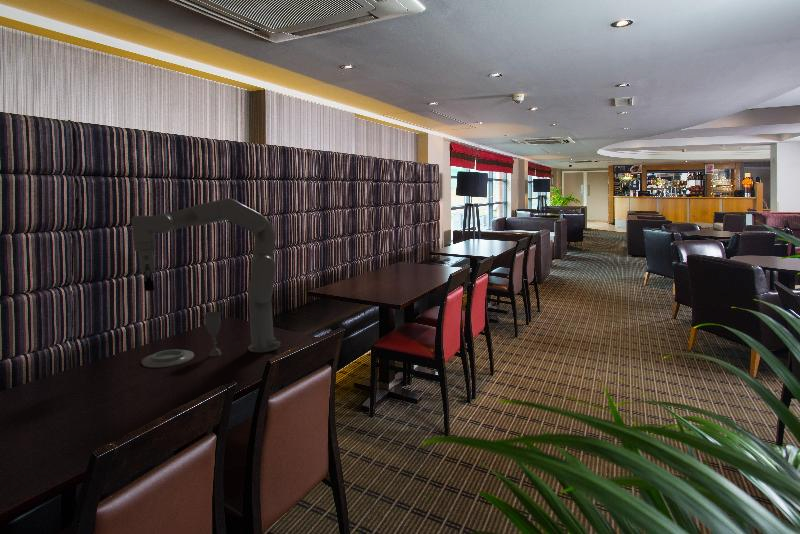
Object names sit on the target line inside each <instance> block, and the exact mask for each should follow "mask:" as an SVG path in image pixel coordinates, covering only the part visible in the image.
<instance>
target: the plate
mask: <svg viewBox="0 0 800 534" xmlns="http://www.w3.org/2000/svg"><path fill="white" fill-rule="evenodd" d="M194 357H195V353H194V352H193V351H191V350H187V349H178V348H175V349H165V350H160V351H158V352H154V353H153V354H150V355H147V356H145V357H144V358H142V359H141V365H142V366H143V367H146V368H152V369H153V368H154V369H156V368H157V369H159V368H168V367H174V366H175V367H176V366H177V365H178V366H179V365H181V364H185V363H187V362H190V361H191V360H192V359H194Z"/></svg>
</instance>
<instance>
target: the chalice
mask: <svg viewBox="0 0 800 534" xmlns="http://www.w3.org/2000/svg"><path fill="white" fill-rule="evenodd" d="M202 315H203V317H204V323H205V324H204V325H205V328H206V330H207V331H208V333H209V335H210V336H212V342H213V343H212V345H213V348H211V350H210V352H209V354H208V356H209V357H218V356H221V355H222V351H221V349H219V348H217V344H218V343H217V338H216V335H217V334H218V333H219V332H220V329H221V324H222V321H221V315H222V312H220V311H209V312H205V313H204V312H203V313H202Z"/></svg>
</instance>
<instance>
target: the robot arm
mask: <svg viewBox="0 0 800 534" xmlns="http://www.w3.org/2000/svg"><path fill="white" fill-rule="evenodd" d="M130 220H131V230H132V237H133V246H134V252H137V253H138V260H139V267H140V271H141V275H142V276H143V281H144V283H143V284H144V291H145V292H152V291H155V285H154V283H155V282H154V278H153V275H156V265H155V264H156V263H155V255H154V251H155V250H156V241H155V233H156V234H168V233H170V232H171V231H175V230H179V229H183V228H188V227H200V226H205V225H208V224H213V223H217V222H222V221H229V222H231V223H232V224H235V225H236V226H238V227H240V228H242V229H245V230H246V231H248V232H250V233H252V235H253V236H254V242H253V252H252V258H251V263H250V266H251V275H250V281H249V283H248V284H247V297H248V310H249V323H250V324H249V325H250V327H249V328H250V339H251V344H250V345H249V346H248V347H247V348H248V349H247V350H248V351H249V352H251V353H257V354H258V353H268V352H272V351H275V350H276V349H277V348H279V347H281V344H282V342H281V341H280V340H277V338H276V336H275V335H274V321H273V306H272V296H273V292H274V285H275V277H276V262H275V261H274V255H275V244H276V243H275V238H276V235H275V230H274V228H273V225H272V224H271V221H269V220H268V218H266V217H265V216H264V215H263V214H262V213H260V212H257V211H256V210H254V209H252V208H250V207H248V206H246V205H244V204H243V203H240V202H239V201H238V200H236V199H235V198H234V199H233V198H231V197H230V198H221V199H218V200H213V201H208V202H205V203H200V204H196V205H193V206H190V207H186V208H183V209H179V210H174V211H169V212H164V213H160V214H156V215H147V214H146V215H142V214H141V215H134V216H132V217H131V219H130Z"/></svg>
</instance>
